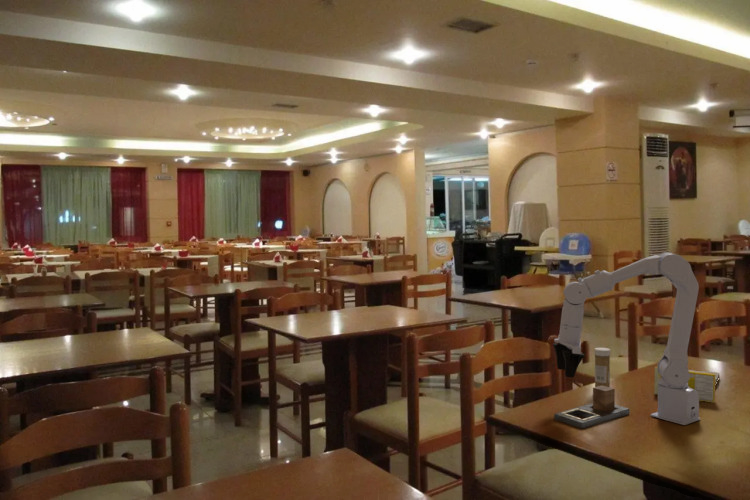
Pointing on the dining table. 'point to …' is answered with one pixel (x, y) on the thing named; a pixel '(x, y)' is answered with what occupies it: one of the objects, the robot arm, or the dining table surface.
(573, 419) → the grey peg holder tray
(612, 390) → the square peg block
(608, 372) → the sprinkles bottle
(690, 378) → the candy box
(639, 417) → the dining table surface
